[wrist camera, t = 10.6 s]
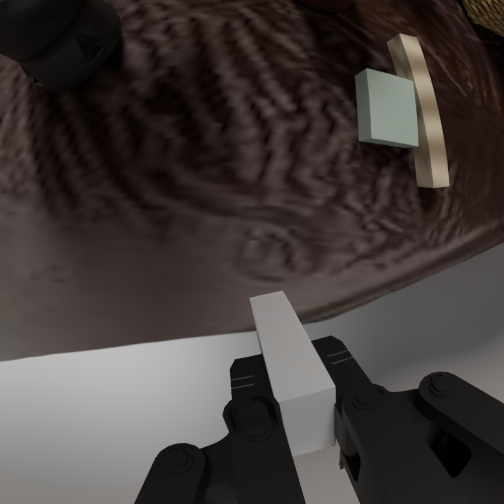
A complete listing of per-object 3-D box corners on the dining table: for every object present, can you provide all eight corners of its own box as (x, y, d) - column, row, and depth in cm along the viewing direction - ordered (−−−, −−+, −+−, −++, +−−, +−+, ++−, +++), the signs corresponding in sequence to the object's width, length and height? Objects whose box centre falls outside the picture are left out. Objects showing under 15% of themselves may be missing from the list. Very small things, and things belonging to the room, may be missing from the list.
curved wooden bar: (386, 42, 31) (399, 33, 27) (403, 45, 31) (416, 37, 28) (417, 186, 37) (433, 188, 34) (433, 184, 38) (449, 186, 34)
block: (353, 76, 33) (366, 68, 29) (398, 87, 34) (413, 81, 30) (357, 141, 35) (371, 138, 31) (402, 148, 36) (418, 146, 32)
